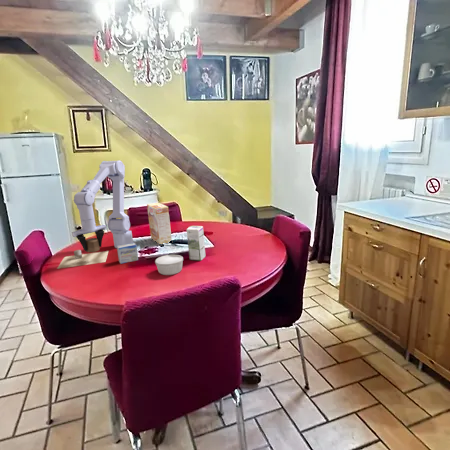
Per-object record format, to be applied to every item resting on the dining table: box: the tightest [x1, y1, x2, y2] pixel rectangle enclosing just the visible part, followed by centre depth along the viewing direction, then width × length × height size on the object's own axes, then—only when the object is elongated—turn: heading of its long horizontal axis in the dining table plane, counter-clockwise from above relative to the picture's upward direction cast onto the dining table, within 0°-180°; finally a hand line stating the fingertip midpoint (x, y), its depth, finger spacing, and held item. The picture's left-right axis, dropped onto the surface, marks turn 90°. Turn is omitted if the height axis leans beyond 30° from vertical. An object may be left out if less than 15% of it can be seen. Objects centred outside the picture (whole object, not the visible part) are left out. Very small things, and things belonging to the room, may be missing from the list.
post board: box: [56, 249, 109, 270], centre depth 154 cm, size 20×16×5 cm
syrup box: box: [186, 225, 206, 261], centre depth 148 cm, size 6×6×14 cm
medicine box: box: [116, 242, 139, 265], centre depth 148 cm, size 8×4×9 cm, turn 118°
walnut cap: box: [85, 237, 101, 254], centre depth 150 cm, size 6×6×5 cm
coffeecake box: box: [146, 202, 173, 245], centre depth 178 cm, size 15×7×20 cm, turn 29°
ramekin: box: [154, 254, 184, 276], centre depth 137 cm, size 11×11×5 cm
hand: (92, 248), depth 150 cm, fingers closed on walnut cap, 6 cm apart
